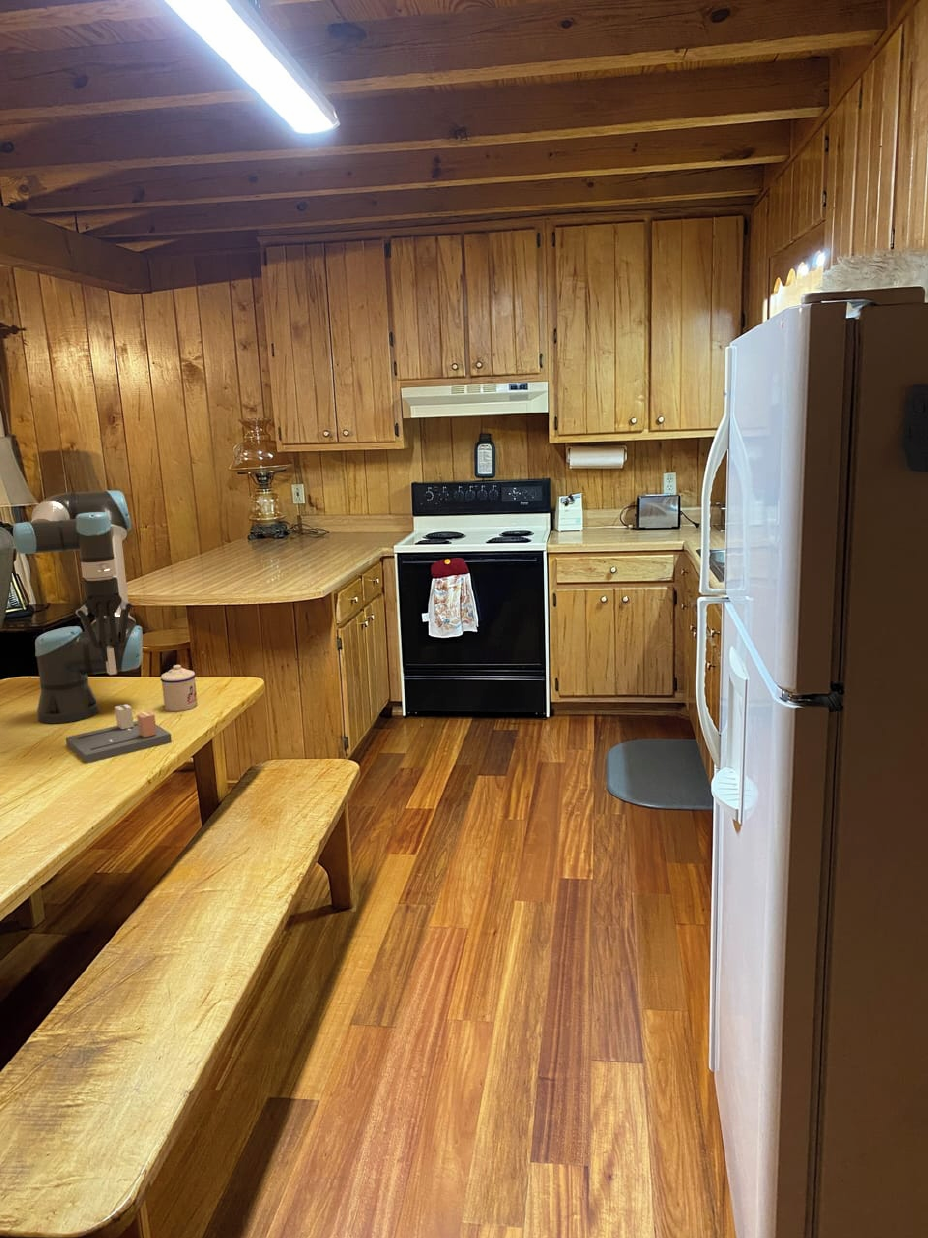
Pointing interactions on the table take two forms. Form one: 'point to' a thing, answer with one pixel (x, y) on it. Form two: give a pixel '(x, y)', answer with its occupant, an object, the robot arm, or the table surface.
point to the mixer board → (114, 742)
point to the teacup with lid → (179, 689)
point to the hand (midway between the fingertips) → (111, 673)
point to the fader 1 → (124, 716)
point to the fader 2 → (146, 724)
